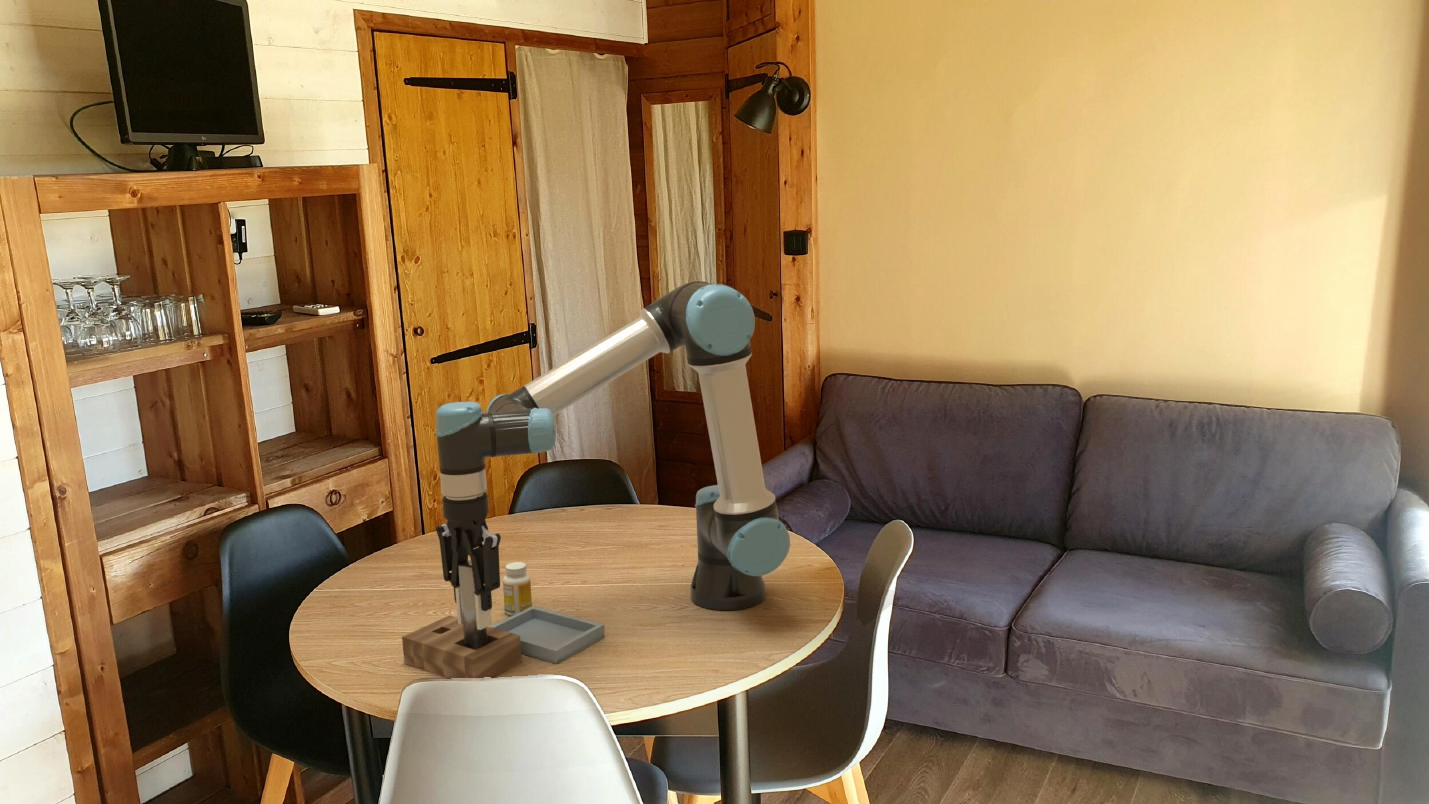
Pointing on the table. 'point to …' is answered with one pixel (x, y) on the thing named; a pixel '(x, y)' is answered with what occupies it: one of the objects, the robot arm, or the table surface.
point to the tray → (551, 633)
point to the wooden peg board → (460, 651)
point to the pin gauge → (470, 608)
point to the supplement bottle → (516, 589)
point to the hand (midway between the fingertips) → (474, 623)
